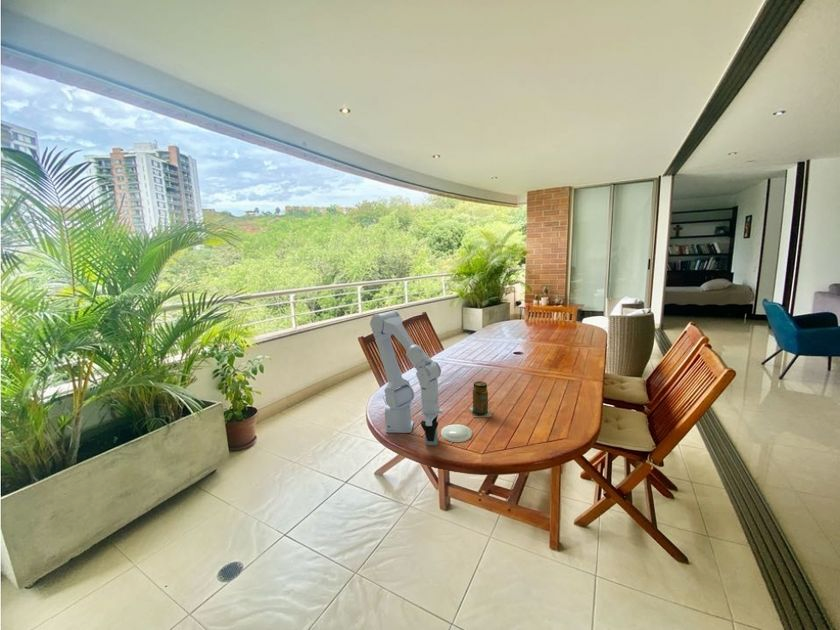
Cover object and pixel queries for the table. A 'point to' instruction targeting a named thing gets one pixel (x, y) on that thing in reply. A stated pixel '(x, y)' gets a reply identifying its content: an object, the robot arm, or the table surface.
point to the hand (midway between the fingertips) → (431, 434)
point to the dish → (456, 433)
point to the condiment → (480, 400)
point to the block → (434, 439)
